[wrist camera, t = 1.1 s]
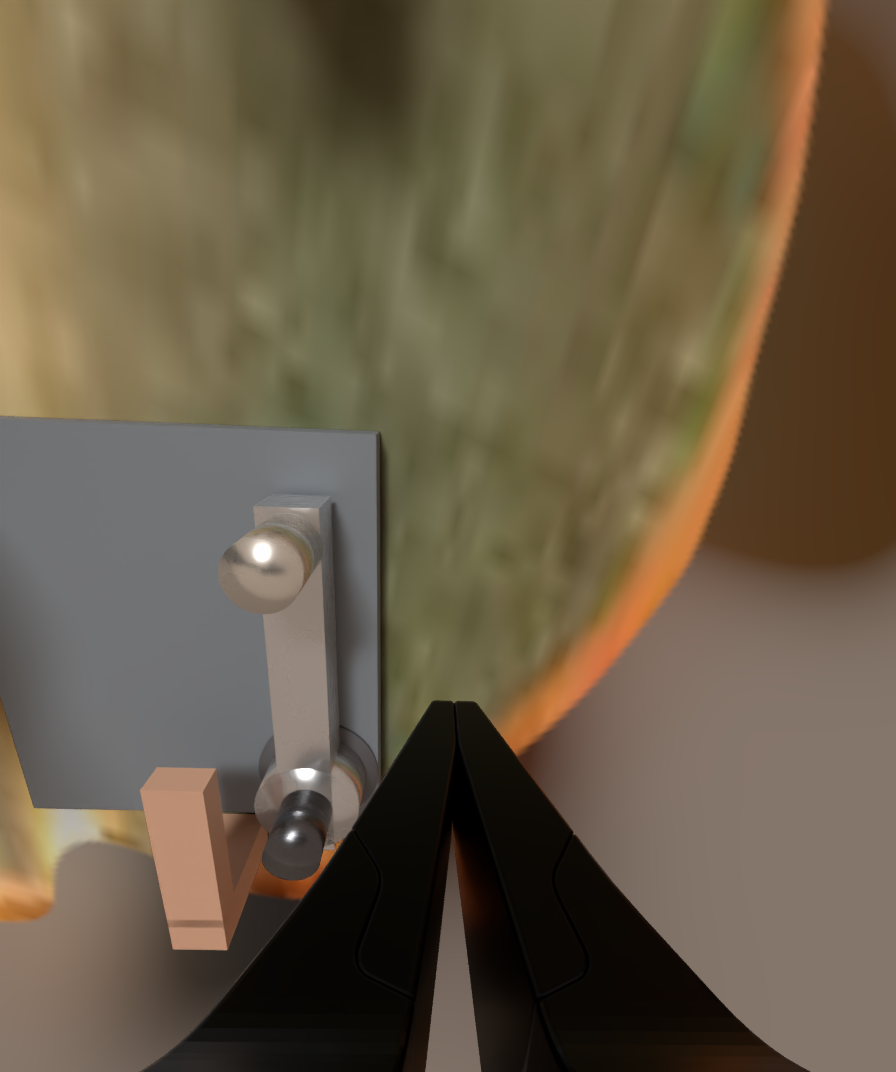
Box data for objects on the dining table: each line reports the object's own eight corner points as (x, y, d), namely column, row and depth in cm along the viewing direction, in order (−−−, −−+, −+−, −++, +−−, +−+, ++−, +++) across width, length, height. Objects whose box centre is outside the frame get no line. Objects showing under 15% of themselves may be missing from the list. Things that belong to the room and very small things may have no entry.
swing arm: (365, 814, 25) (347, 917, 20) (273, 812, 24) (232, 916, 20) (360, 497, 19) (333, 535, 15) (242, 492, 19) (176, 529, 14)
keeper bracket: (224, 839, 27) (173, 949, 22) (204, 701, 24) (140, 790, 19) (268, 840, 27) (227, 949, 22) (253, 703, 24) (202, 791, 19)
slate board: (51, 789, 26) (30, 811, 24) (-55, 413, 20) (-92, 415, 18) (381, 796, 26) (377, 818, 25) (379, 431, 20) (375, 435, 19)
